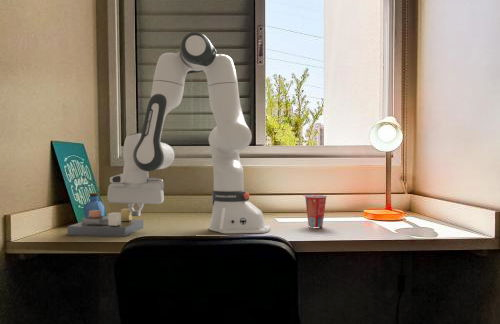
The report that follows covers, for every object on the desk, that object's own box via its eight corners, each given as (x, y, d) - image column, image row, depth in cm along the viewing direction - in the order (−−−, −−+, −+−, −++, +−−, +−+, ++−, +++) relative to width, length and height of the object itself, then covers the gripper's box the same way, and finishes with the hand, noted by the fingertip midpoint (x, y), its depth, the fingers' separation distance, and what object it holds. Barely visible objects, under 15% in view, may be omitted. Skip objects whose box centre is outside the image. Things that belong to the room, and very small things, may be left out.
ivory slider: (120, 224, 126) (120, 212, 126) (117, 225, 123) (117, 213, 123) (112, 223, 126) (112, 212, 126) (108, 225, 123) (108, 213, 123)
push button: (103, 217, 131) (103, 210, 131) (97, 219, 127) (97, 211, 127) (92, 217, 131) (92, 210, 131) (86, 218, 127) (86, 211, 127)
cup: (325, 225, 143) (325, 194, 143) (328, 229, 135) (328, 196, 135) (301, 224, 144) (301, 194, 144) (302, 228, 136) (302, 196, 136)
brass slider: (132, 219, 135) (132, 208, 135) (128, 220, 132) (128, 209, 132) (124, 219, 136) (124, 208, 136) (120, 220, 133) (120, 209, 133)
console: (143, 227, 137) (143, 214, 137) (125, 236, 121) (125, 221, 121) (92, 226, 139) (92, 213, 139) (67, 235, 123) (67, 220, 123)
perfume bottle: (82, 224, 143) (82, 194, 143) (89, 222, 149) (89, 192, 149) (98, 224, 143) (98, 194, 143) (104, 222, 149) (104, 192, 149)
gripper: (166, 177, 136) (166, 214, 136) (113, 177, 138) (113, 213, 138) (161, 178, 130) (160, 217, 130) (105, 177, 131) (105, 216, 131)
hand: (135, 215), depth 134 cm, fingers closed
